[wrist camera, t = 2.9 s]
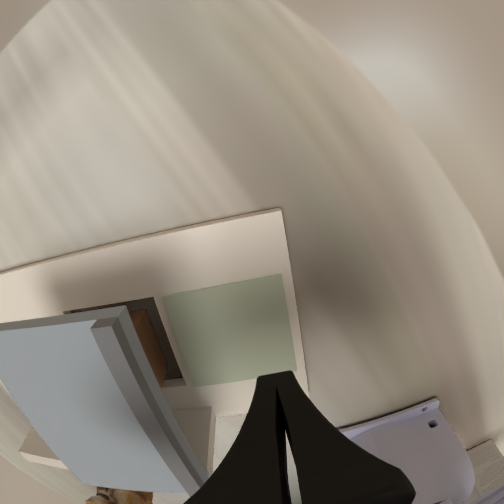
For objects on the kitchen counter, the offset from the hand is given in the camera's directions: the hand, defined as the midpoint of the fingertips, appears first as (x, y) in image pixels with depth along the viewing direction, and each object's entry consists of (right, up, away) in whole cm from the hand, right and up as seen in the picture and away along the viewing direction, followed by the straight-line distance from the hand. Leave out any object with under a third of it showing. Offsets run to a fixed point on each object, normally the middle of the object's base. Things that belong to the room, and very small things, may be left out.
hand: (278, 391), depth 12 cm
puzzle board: (-8, 0, +6) cm, 10 cm away
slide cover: (-8, -2, 0) cm, 8 cm away
